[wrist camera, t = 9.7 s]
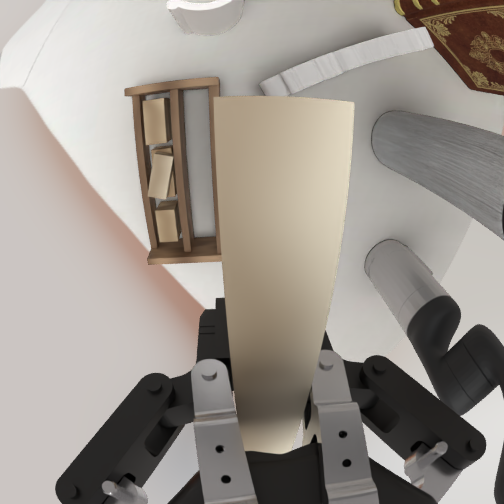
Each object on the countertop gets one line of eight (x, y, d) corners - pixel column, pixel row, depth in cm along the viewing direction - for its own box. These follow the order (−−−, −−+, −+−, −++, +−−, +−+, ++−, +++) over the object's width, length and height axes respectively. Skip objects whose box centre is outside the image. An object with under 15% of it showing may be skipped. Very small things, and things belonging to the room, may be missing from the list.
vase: (375, 173, 42) (495, 258, 19) (365, 114, 37) (506, 152, 14) (421, 163, 41) (541, 232, 18) (414, 107, 36) (551, 145, 13)
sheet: (266, 102, 15) (354, 102, 4) (263, 335, 24) (284, 469, 13) (224, 103, 14) (213, 97, 4) (235, 337, 23) (244, 473, 13)
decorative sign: (266, 99, 37) (274, 104, 25) (258, 84, 36) (261, 81, 24) (395, 50, 31) (449, 44, 19) (388, 36, 30) (440, 23, 17)
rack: (219, 81, 33) (218, 76, 28) (226, 241, 46) (226, 261, 41) (138, 90, 33) (124, 88, 28) (156, 245, 45) (148, 264, 40)
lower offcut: (174, 144, 38) (170, 148, 35) (178, 190, 41) (175, 196, 39) (156, 146, 38) (151, 150, 35) (160, 191, 41) (156, 197, 38)
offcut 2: (178, 200, 42) (174, 209, 38) (181, 229, 44) (178, 241, 41) (160, 201, 42) (155, 210, 38) (164, 230, 44) (159, 242, 41)
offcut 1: (170, 98, 34) (163, 98, 30) (172, 138, 37) (166, 142, 33) (151, 101, 34) (142, 101, 30) (154, 140, 37) (146, 145, 33)
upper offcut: (175, 154, 36) (173, 157, 34) (168, 194, 38) (165, 199, 37) (157, 151, 35) (154, 153, 33) (151, 191, 38) (147, 196, 36)
